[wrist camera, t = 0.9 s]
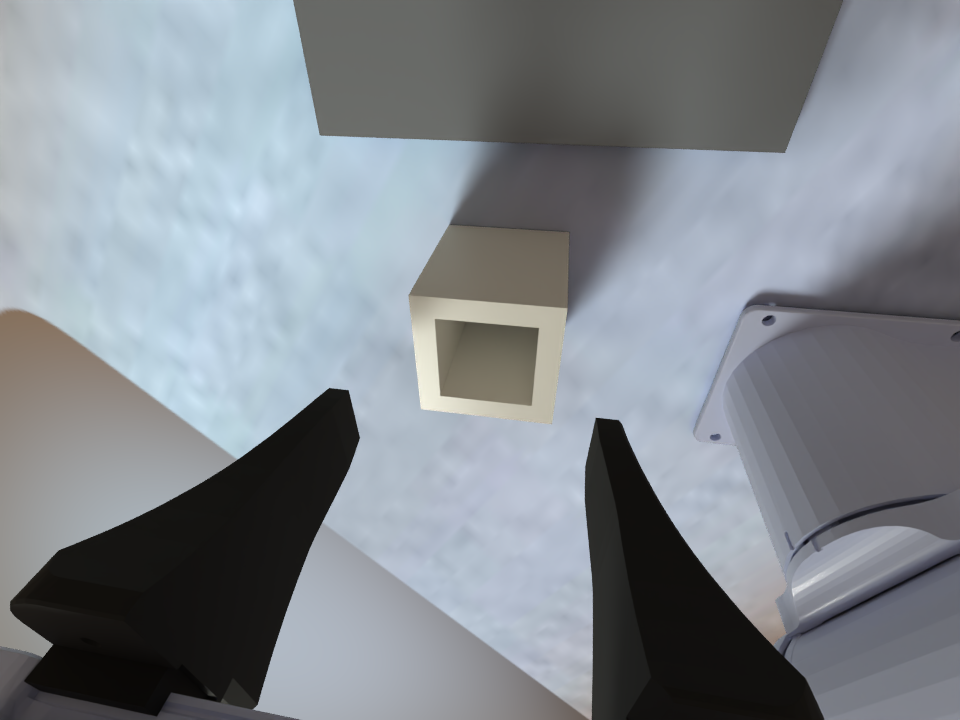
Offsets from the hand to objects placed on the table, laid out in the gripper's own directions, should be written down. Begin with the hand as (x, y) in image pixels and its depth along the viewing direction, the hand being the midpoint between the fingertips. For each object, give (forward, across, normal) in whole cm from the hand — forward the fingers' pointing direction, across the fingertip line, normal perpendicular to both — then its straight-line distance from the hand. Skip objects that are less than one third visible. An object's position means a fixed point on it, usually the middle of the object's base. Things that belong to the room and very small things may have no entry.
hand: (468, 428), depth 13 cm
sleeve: (+9, 0, 0) cm, 9 cm away
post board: (+9, -1, -13) cm, 16 cm away
